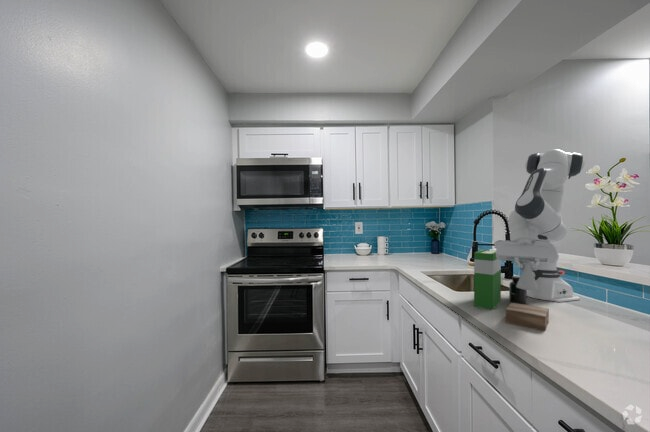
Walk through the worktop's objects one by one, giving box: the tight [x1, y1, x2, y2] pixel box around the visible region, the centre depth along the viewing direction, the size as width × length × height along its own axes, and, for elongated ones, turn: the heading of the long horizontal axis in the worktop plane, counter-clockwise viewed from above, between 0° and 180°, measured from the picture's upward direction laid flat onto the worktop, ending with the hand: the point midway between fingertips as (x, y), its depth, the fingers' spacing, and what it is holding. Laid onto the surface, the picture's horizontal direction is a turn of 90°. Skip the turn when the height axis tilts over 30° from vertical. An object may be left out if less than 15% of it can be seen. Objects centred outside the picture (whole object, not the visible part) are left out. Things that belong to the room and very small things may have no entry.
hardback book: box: [473, 249, 502, 311], centre depth 134 cm, size 18×7×24 cm, turn 140°
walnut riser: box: [505, 302, 550, 332], centre depth 110 cm, size 12×12×5 cm
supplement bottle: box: [508, 275, 528, 305], centre depth 136 cm, size 7×7×12 cm
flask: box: [516, 261, 539, 290], centre depth 110 cm, size 7×7×10 cm
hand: (527, 269), depth 110 cm, fingers closed on flask, 3 cm apart
